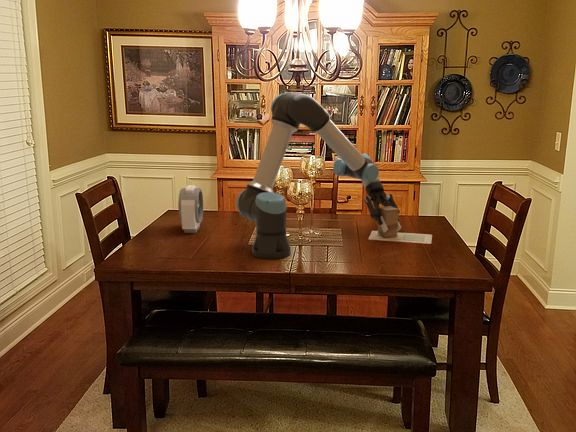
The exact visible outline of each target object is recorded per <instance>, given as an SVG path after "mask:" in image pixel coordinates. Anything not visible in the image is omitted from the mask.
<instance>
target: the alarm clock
mask: <svg viewBox="0 0 576 432" xmlns="http://www.w3.org/2000/svg"><path fill="white" fill-rule="evenodd" d="M177 203H178V208H177V209H178V216H179V221H180V222H181V229H182V230H183V233H186V234H187V233H188V234H190V233H191V234H193V233H194V234H196V233H197V232H198V231H199V229H200V227H201V223H202V221H203V217H204V195H203V189H201V188H199V187H196V185H193V184H189V185H187V186H186V187H182V188H180V190H179V194H178V202H177ZM197 230H198V231H197Z"/></svg>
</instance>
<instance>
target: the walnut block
mask: <svg viewBox="0 0 576 432" xmlns="http://www.w3.org/2000/svg"><path fill="white" fill-rule="evenodd" d="M379 210H380V217H381V216H382V217H383V219H384V221H385V223H386V226H387V228H388V230H387V231H386V232H385V233H384V232H383V230H382V227H381V225H379V224H378V223H377V231H378V235H380V236H382V237H385V238H388V237H396V236H397V232H398V231H397V230H398V219H399V214H398V210H399V211H400V209H399V208H398V209H397V208H394V207H392V206H387V207H384V206H379Z"/></svg>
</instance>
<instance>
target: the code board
mask: <svg viewBox="0 0 576 432" xmlns="http://www.w3.org/2000/svg"><path fill="white" fill-rule="evenodd" d="M432 238H433V234H427V233H425V234H424V233H415V232H414V233H412V232H411V233H410V232H399V231H397V236H396V237H388V238H385V237H382V236H380V235H378V230H371V233H370V235H369V236H368V238H367V240H370V241H383V242H384V241H386V242H398V243H399V242H402V243H415V244H425V245H426V244H429V245H430V244H432V241H433V240H432Z"/></svg>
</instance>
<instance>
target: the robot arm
mask: <svg viewBox="0 0 576 432" xmlns="http://www.w3.org/2000/svg"><path fill="white" fill-rule="evenodd" d="M270 111H271V116H272V117H271V119H270V122H271V125H272V127H271V129H270V133H269V136H268V138H267V141H266V144H265V147H264V148H263V149H264V150H263V152H262V154H261V158H260V160H259V163H258V165H257V169H256V171H255V174H254V177H253V179H252V181H249V182H248V183H247V184H246V188H245V189H244V190H243V191H241V192H240V193H239V194H238V196H237V198H236V208H237V209H236V210H238V213H239V214H240V215H241V216H243V217H244V218H245V219H247V220H250V221H252V222H253V223H255V224H256V228H255V229H256V234H255V238H254V241H253V244H252V248H251V250H252V251H251V252H252V255H253V256H254V257H255V258H258V259H263V260H264V259H265V260H266V259H267V260H276V259H284V258H287V257H289V256H290V255H291V251H292V250H291V245H290V242H289V239H288V236H287V235H288V234H287V201H286V198H285V196H283V195H282V194H280V193H278V192H275V191H274V189H273V187H274V185H275V182H276V180H277V176H278V175H279V171H280V169H281V167H282V163H283V161H284V158H285V156H286V152H287V149H288V147H289V144H290V142H291V140H292V139H291V138H292V136H293V133H295V132H296V133H297V132H298V130H299V127H300V125H303V126H304V127H306V128H307V129H309V131H310V132H311V133H316V134H317V135H318V136H319V138H321V139H322V140H323V141H324V143H326V145H327V146H328V147H329V148H330V149H331V150H332V151H333V153H335V154H336V155H337V156H338V158H337V159H336V160H335V161H334V162H333V167H332V168H333V172H334V175H336V176H339V177H349V178H353V179H357V180H360V181H361V183H362V184H363V187H364V190H365V192H366V195H367V196H365V198H364V201H363V202H365V204H366V207H367V210H368V212H369V216H370V217H371V219H374V220H375V221H377V225H378V224H379V225H381V227H382V230H383V232H384V233H385V232H386V231H387V230H388V228H387V226H386V223H385V221H384V219H383V217H382V216H381V217H380V210H379V207H380V205H382V206H381V207H387V206H392V207H394V208H397V209H399V208H398V206H397V204H396V202H395V200H394V198H393V197H394V195H393V194H392V193H391V194H387V193H386V192H385V191H384V185H383V184H382V182H381V179H380V177H379V174H380V170H379V168H378V167H379V166H377V165H376V164H374V163H373V161H372V159H371V157H370V156H369V155H368V154H367V153H361V152H360V151H359V149H357V148H356V147H355V145H354V144H353V143H352V142H351V141H350V140H349V139H348V137H346V135H345V134H344V132H342V131H341V129H340V128H338V127H337V125H336V124H335V123H334V122H333V121H332V120H331V115H330V114H329V112H328V111H327V110H326V109H325V107H323V105H321V104H320V103H319V102H318V101H317V100H316V99H315V98H313V97H312V96H311V95H309V94H306V93H297V92H296V93H294V92H283V93H280V94H278V95H277V96H276V97H275V98H274V99H273V101H272V102H271V105H270ZM400 213H401V212H400V209H399V210H398V215H399V214H400ZM401 229H402V226H401V224H400V219H399V218H398V230H397V232H399V231H400V230H401Z"/></svg>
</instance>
